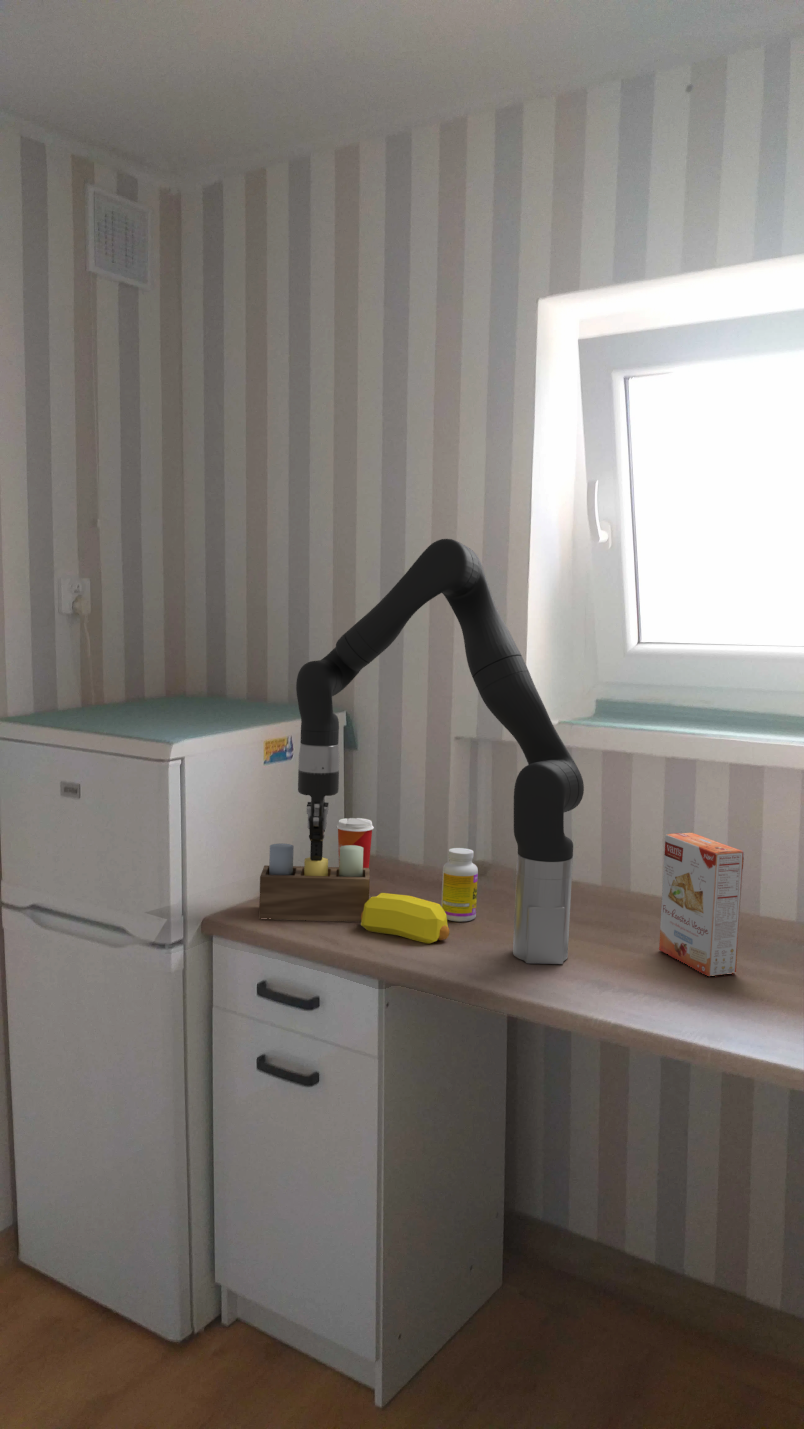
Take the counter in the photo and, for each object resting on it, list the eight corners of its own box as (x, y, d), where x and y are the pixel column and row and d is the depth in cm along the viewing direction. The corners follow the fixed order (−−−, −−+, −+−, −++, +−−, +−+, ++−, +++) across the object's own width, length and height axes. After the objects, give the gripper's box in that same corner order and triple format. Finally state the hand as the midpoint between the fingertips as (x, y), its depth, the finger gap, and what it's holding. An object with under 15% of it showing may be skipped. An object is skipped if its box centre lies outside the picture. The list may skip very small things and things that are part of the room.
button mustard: (326, 894, 195) (327, 862, 194) (303, 894, 195) (303, 862, 194) (327, 888, 199) (328, 857, 199) (304, 887, 199) (305, 856, 198)
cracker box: (656, 951, 182) (663, 832, 180) (685, 948, 185) (693, 831, 182) (706, 979, 169) (715, 851, 167) (737, 975, 172) (746, 849, 169)
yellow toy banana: (438, 949, 180) (458, 938, 186) (439, 911, 179) (460, 901, 186) (349, 930, 189) (372, 920, 195) (351, 894, 188) (373, 885, 195)
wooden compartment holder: (368, 921, 194) (369, 879, 193) (259, 919, 193) (260, 876, 192) (368, 908, 202) (369, 868, 201) (263, 906, 201) (264, 865, 200)
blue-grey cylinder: (291, 881, 194) (292, 849, 194) (268, 880, 194) (268, 848, 194) (293, 875, 199) (294, 843, 198) (270, 874, 199) (270, 843, 198)
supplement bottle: (476, 923, 195) (479, 855, 194) (441, 922, 195) (443, 854, 194) (475, 913, 202) (477, 847, 200) (440, 911, 202) (443, 845, 200)
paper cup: (330, 883, 219) (332, 817, 218) (366, 882, 221) (368, 816, 220) (339, 894, 212) (341, 825, 210) (376, 892, 214) (378, 824, 213)
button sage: (362, 882, 195) (363, 850, 194) (338, 882, 195) (339, 850, 194) (362, 876, 199) (363, 845, 199) (339, 876, 199) (340, 844, 198)
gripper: (338, 774, 188) (335, 869, 190) (339, 763, 201) (337, 852, 203) (296, 773, 188) (293, 868, 190) (300, 762, 201) (298, 851, 203)
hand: (316, 859), depth 196 cm, fingers closed
